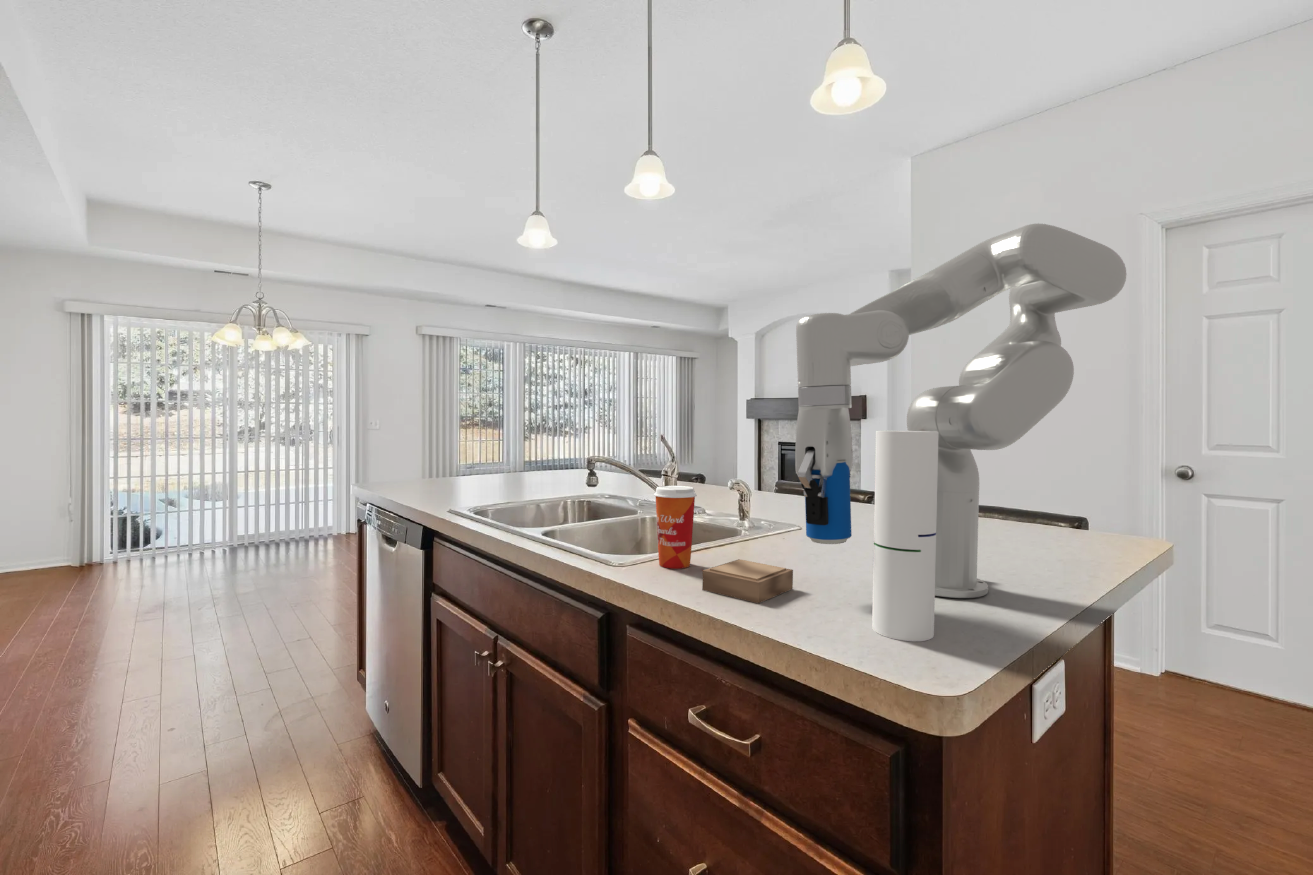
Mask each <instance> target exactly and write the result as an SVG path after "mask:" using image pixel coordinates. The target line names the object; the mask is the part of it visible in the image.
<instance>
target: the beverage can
mask: <svg viewBox="0 0 1313 875" xmlns="http://www.w3.org/2000/svg"><path fill="white" fill-rule="evenodd" d="M820 472H821V470H812V472H811V475H821V474H820ZM850 474H851V472H850V469H849V467H848V465H847V464H846V460H845V461H837V462H836V466H835V468H834V469H833V473H832V476H830V477H828V478H827V484H826V491H825V496H824V497H828V524H827V525H816V524H808V523H807V522H806V521H805V533H806V535H805V536H806V537H808V538H809V539H810V540H811V541H812V542H813V543H816V544H820V545H821V544H822V545H840V544H843V543H846V542H847V540H849V539H850V538H851V537H852V508H851V504H852V503H851V501H852V500H851V477H850V476H851V475H850ZM815 481H816V483H817V485H818V486H819V483H820V480H815ZM804 504H805V506H804V508H805V509H804V511H805V512H806V499H805V498H804Z"/></svg>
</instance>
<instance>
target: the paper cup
mask: <svg viewBox="0 0 1313 875" xmlns="http://www.w3.org/2000/svg"><path fill="white" fill-rule="evenodd" d="M653 496H655V511H656V514H655V515H656V535H657V552H658V565H659V566H660V567H661V568H664V569H668V570H669V569H670V570H671V569H672V570H681V569H687V568H689V567H690V565H691V558H692V546H693V545H692V544H693V530H694V519H695V518H694V515H695V498H696V497H697V493H696V492H695V489H694V487H692V486H687V485H685V486H684V485H662V486H657V487H656V489H655V492H654V493H653Z"/></svg>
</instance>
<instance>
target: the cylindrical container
mask: <svg viewBox="0 0 1313 875" xmlns="http://www.w3.org/2000/svg"><path fill="white" fill-rule="evenodd" d="M874 456H875V460H874V461H875V466H874V468H875V469H874V509H873V510H874V514H873V516H874V518H873V519H874V520H873V526H874V527H873V560H872V561H873V564H872V565H873V566H872V569H873V570H872V608H871V609H872V612H871V613H872V614H871V616H872V620H871V625H872V626H871V628H872V630H873V631H874V632H875V633H877V634H879V635H881V636H884V637H886V638H889V639H894V640H898V641H904V642H924V641H929V640H932V639H933V638H934V636H935V600H936V599H935V597H936V596H935V563H936V519H937V477H938V432H937V431H908V430H875V455H874Z"/></svg>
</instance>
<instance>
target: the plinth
mask: <svg viewBox="0 0 1313 875" xmlns="http://www.w3.org/2000/svg"><path fill="white" fill-rule="evenodd" d="M701 583H702V584H701V585H702V587H701V588H702V591H705V592H709V593H714V594H717V595H718V594H719V595H723V596H726V597H730V598H733V599H738V600H744V601H747V602H750V603H754V604H761V603H762V602H765V601H767V600H770V599H773V598H774V597H777V596H779V595H782V594H783V593H784V594H785V593H786V592H789V591H792V590H793V588H794V587H793V585H794V569H791V568H790V569H789V568H786V567H781V566H775V565H772V564H766V563H760V562H757V561H756V562H755V561H750V560H744V559H736V560H731V561H729V562H725V563H722V564H720V565H715V566H713V567H709V568H706V569H703V570H702V582H701Z"/></svg>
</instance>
